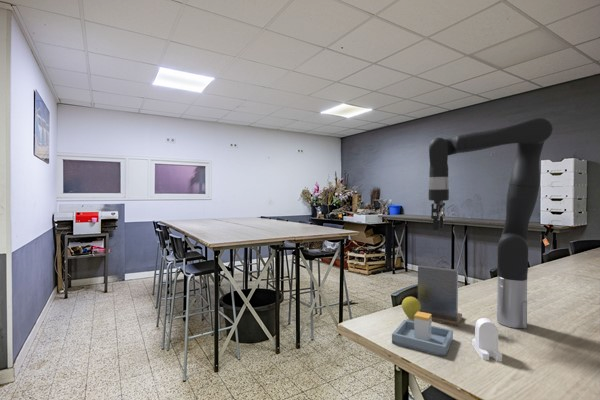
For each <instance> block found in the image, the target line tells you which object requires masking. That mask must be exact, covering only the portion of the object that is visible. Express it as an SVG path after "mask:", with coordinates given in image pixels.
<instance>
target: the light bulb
mask: <svg viewBox="0 0 600 400" xmlns="http://www.w3.org/2000/svg"><path fill="white" fill-rule="evenodd" d="M401 308H402V310H403V312H404V314H405V316H406V319H405V320H408V321H413V322H414V315H415V314H416V313H417V312H418V311H420V308H421V305H420V302H419V301H418V298H416V297H414V296H407V297H405V298H404V299H403V300H402V302H401Z"/></svg>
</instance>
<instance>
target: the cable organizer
mask: <svg viewBox="0 0 600 400" xmlns="http://www.w3.org/2000/svg"><path fill="white" fill-rule="evenodd" d="M474 328H475V330H474V338H472V340H471V342H472V347H473V348H474V349H475V351H476V352H477V353H478V355H479V357H480V358H481V359H482V360H483V361H490V357H492V358H493V359H494V360H495V361H496V362H500V361H501V362H503V354H502V353H501V351H500V350H499V329H498V326H497V325H496V324H495V323H494V322H493V321H492V320H491V319H489V318H487V317H481V318H478V319H477V321H476V322H475V325H474Z"/></svg>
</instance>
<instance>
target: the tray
mask: <svg viewBox="0 0 600 400" xmlns="http://www.w3.org/2000/svg"><path fill="white" fill-rule="evenodd" d="M453 339H454V330H453V329H449V328H445V327H440V326H436V325H431V339H430V341H429V342H428V341H424V340H420V339H416V338H414V322H413V321H408V320H406V319H404V320H402V322H401V323H400V324H399V325H398V326H397V327H396V328H395V330H394V331H393V332H392V333H391V343H392V344H394V345H397V346H402V347H406V348H409V349H413V350H417V351H421V352H425V353H428V354H433V355H435V356H440V357H443V358H445V357H446V356H447V354H448V352H449V349H450V346H451V345H452V342H453Z"/></svg>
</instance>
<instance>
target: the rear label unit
mask: <svg viewBox="0 0 600 400" xmlns="http://www.w3.org/2000/svg"><path fill="white" fill-rule="evenodd" d="M417 300H418V301H419V302H420V305H421V308H420V311H419V312H424V313H429V314H432V322H434V323H438V324H439V323H440V324H444V325H450V326H455V327H459V326H460V324H461V322H462V319H463V313H461V312H460V313H459V310H458V309H459V305H458V304H459V269H455V268H454V269H453V268H447V267H446V268H445V267H437V266H429V265H428V266H427V265H421V264H420V265H418V266H417Z"/></svg>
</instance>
